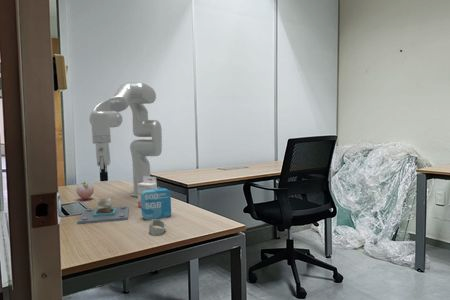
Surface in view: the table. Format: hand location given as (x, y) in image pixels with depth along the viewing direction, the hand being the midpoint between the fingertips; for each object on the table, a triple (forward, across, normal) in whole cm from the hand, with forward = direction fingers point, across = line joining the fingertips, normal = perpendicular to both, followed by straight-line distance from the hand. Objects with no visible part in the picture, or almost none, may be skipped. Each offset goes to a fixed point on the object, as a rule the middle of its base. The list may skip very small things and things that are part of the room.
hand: (104, 180), depth 153 cm
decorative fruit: (+17, +37, +13) cm, 43 cm away
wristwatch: (+15, -31, -21) cm, 41 cm away
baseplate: (+16, -1, 0) cm, 16 cm away
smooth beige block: (+15, -1, 0) cm, 15 cm away
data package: (+16, -11, -22) cm, 29 cm away
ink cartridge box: (+16, +9, -19) cm, 26 cm away
